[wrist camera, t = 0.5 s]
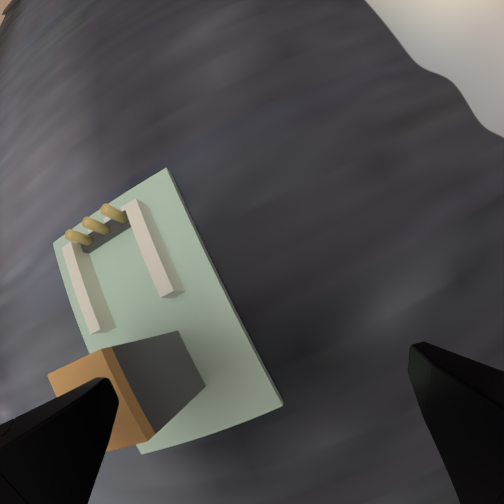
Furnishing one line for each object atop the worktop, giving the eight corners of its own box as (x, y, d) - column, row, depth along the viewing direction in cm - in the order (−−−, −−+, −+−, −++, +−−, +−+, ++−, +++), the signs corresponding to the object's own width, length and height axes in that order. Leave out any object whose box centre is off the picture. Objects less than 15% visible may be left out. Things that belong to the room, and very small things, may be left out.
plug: (206, 386, 23) (147, 441, 12) (160, 403, 23) (87, 455, 12) (177, 330, 24) (100, 348, 13) (134, 350, 24) (47, 374, 13)
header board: (283, 401, 23) (281, 425, 18) (146, 449, 24) (121, 472, 19) (171, 172, 27) (147, 148, 22) (60, 245, 28) (26, 235, 23)
